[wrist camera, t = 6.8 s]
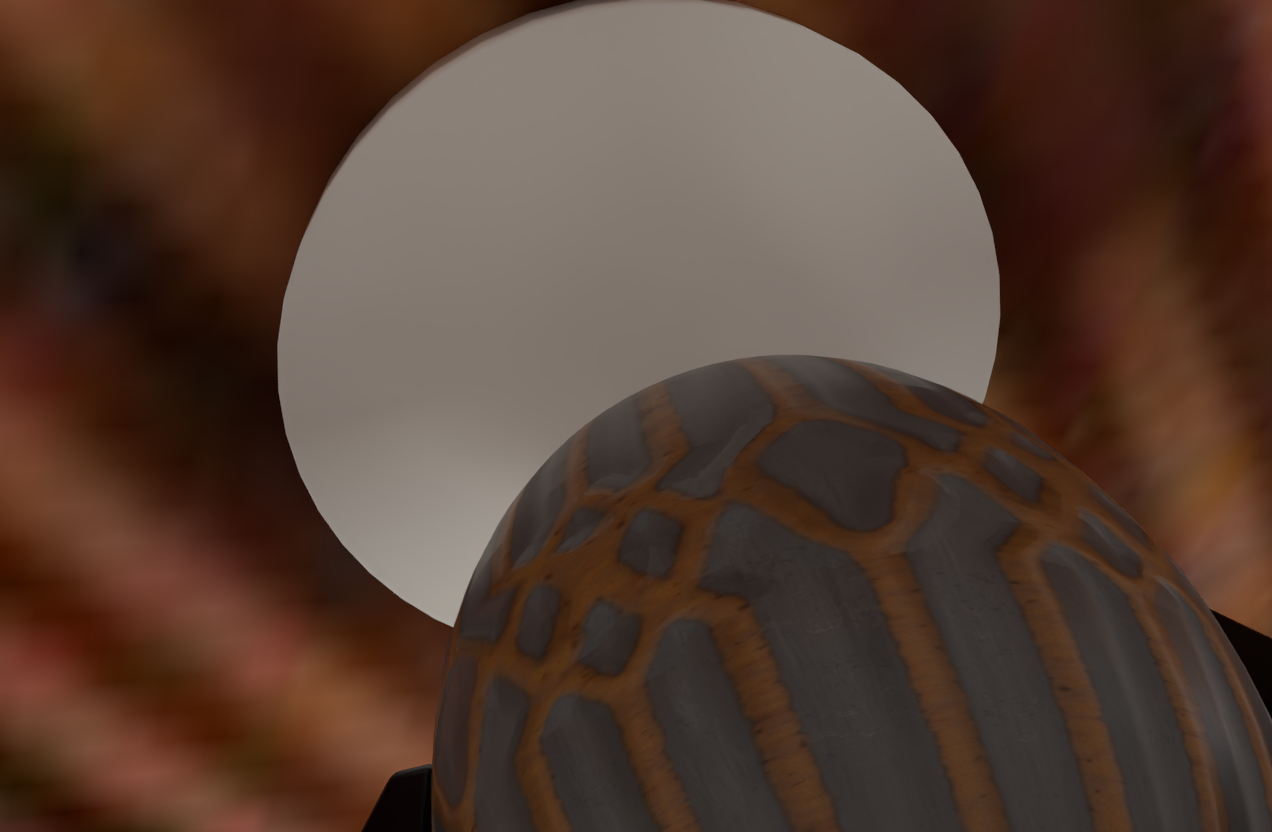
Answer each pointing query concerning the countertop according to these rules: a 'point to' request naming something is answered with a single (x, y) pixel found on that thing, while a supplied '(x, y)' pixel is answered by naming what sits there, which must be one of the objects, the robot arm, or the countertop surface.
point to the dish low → (606, 257)
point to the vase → (834, 630)
